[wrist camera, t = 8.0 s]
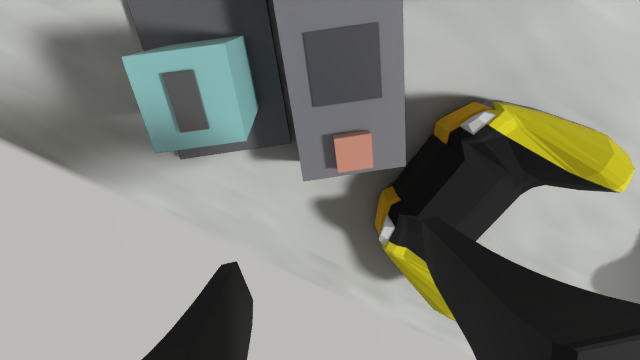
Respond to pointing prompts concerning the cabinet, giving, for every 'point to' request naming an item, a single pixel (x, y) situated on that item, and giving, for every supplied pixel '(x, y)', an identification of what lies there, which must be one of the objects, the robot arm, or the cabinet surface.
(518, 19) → the cabinet surface
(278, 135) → the mat
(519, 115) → the gaming controller
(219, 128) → the block
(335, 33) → the power strip
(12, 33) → the cabinet surface
